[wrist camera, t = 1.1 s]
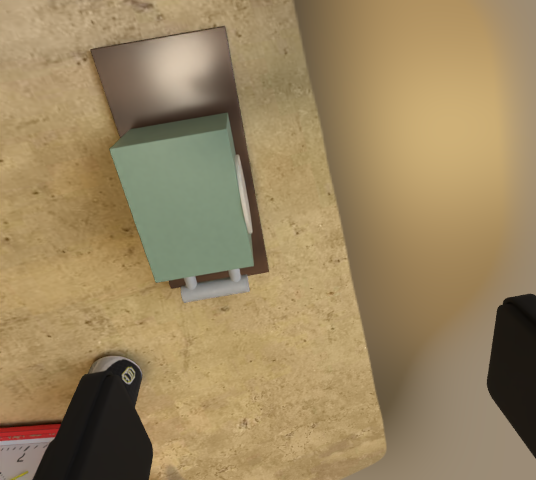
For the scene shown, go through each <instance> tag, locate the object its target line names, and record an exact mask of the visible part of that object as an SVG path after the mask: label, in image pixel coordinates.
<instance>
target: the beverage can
mask: <svg viewBox="0 0 536 480" xmlns="http://www.w3.org/2000/svg"><path fill="white" fill-rule="evenodd" d="M106 370H109V371H111V372H112V373H113V375H119V376H120V378H121V380H122V382H123V384H124V386H125V388H126V390H127V392H128V394H129V397H130V399H131V401H132V403H133V405H134V407H135V405H136V401H137V397H138V392H139V388H140V384H141V380H142V372H141V369H140V368H139V366H138V365H137V364H136V363H135V362H133V361H132V360H130V359H128V358H125V357H121V356H107V357H103V358H101V359H98V360H97V361H95V362H94V363H93V364H92V366H91V367H90V369H89V372H88V374H90V373H95V372H101V371H106Z"/></svg>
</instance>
